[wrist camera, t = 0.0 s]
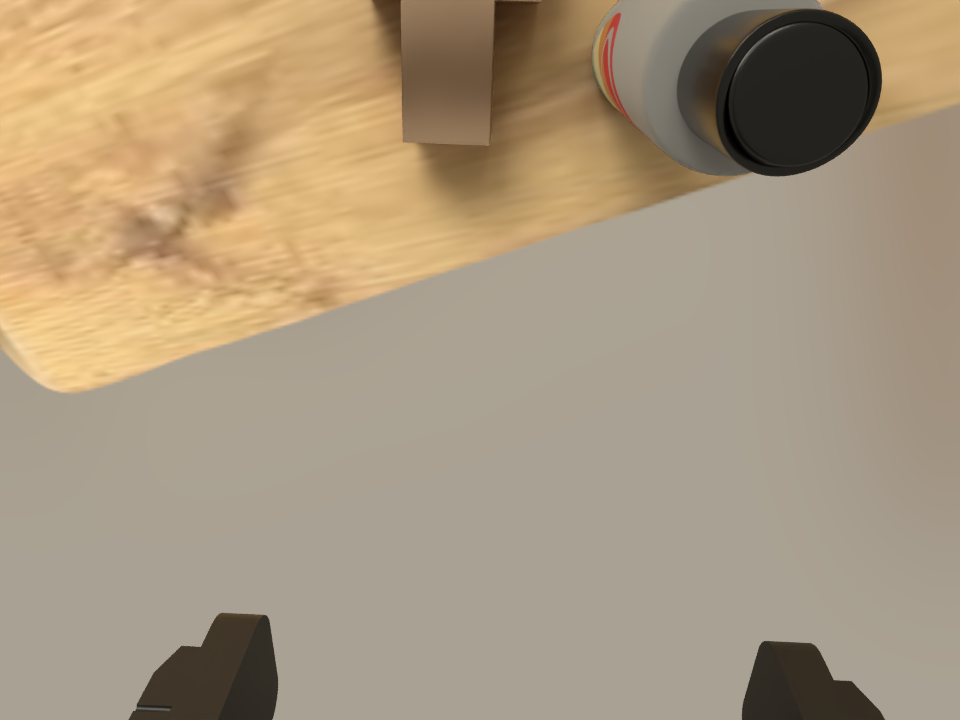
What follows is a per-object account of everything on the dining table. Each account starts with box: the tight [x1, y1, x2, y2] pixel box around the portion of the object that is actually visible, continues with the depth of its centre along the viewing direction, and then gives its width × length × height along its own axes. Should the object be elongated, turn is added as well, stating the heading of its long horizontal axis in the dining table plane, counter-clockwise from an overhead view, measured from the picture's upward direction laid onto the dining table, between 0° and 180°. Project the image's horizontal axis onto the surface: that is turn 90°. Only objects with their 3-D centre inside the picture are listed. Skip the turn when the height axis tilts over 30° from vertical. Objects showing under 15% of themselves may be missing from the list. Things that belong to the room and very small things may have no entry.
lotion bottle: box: [592, 0, 882, 176], centre depth 25 cm, size 6×6×20 cm
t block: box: [401, 0, 542, 146], centre depth 32 cm, size 10×8×4 cm
